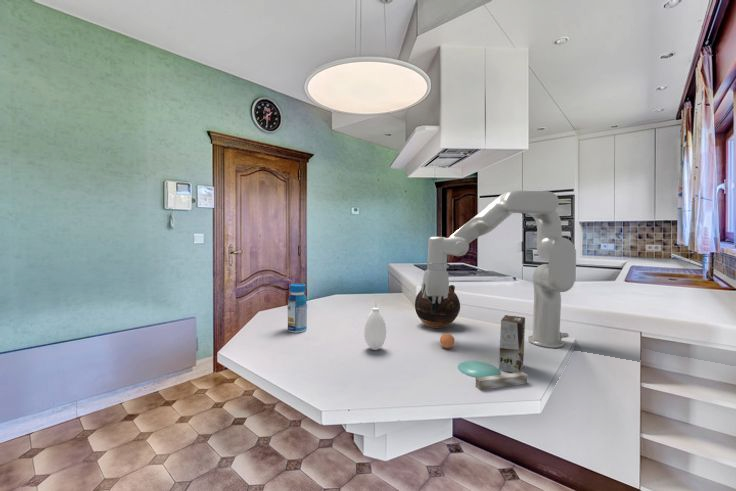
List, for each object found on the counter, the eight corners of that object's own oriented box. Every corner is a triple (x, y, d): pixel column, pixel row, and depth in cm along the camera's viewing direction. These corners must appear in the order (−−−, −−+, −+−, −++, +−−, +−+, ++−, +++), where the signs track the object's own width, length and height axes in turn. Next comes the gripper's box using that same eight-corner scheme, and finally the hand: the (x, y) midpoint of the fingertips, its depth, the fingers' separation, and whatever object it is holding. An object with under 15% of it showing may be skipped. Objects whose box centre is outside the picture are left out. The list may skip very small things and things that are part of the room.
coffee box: (520, 374, 103) (522, 323, 102) (498, 369, 106) (500, 319, 105) (524, 364, 110) (526, 317, 110) (503, 360, 114) (505, 314, 113)
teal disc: (483, 359, 114) (483, 359, 114) (509, 375, 101) (509, 375, 101) (450, 363, 110) (450, 362, 110) (472, 380, 98) (472, 379, 98)
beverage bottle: (304, 333, 140) (305, 286, 139) (284, 333, 140) (285, 285, 139) (308, 327, 148) (309, 283, 147) (289, 327, 148) (290, 282, 147)
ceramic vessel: (418, 332, 144) (420, 263, 143) (410, 321, 162) (412, 260, 160) (465, 332, 146) (467, 264, 144) (453, 321, 163) (454, 260, 162)
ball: (449, 344, 128) (450, 330, 128) (457, 349, 123) (457, 335, 123) (436, 346, 127) (437, 331, 127) (444, 351, 122) (444, 336, 121)
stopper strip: (522, 380, 98) (522, 372, 98) (527, 383, 97) (527, 375, 96) (475, 386, 94) (475, 377, 94) (479, 389, 92) (480, 381, 92)
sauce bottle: (389, 349, 122) (390, 301, 122) (375, 354, 117) (376, 304, 116) (374, 344, 128) (374, 297, 127) (359, 349, 122) (360, 300, 121)
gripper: (448, 266, 139) (446, 309, 139) (415, 266, 134) (413, 310, 135) (458, 268, 131) (455, 314, 132) (423, 268, 127) (421, 315, 128)
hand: (434, 312), depth 134 cm, fingers closed
